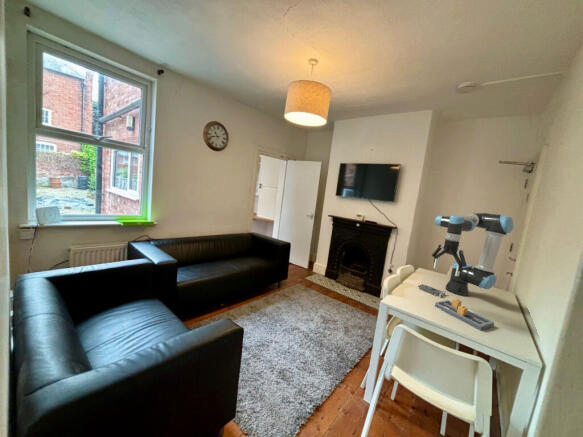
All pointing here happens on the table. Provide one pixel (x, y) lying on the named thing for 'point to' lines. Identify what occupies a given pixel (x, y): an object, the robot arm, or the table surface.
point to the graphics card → (432, 290)
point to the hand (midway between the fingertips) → (445, 271)
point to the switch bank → (465, 316)
